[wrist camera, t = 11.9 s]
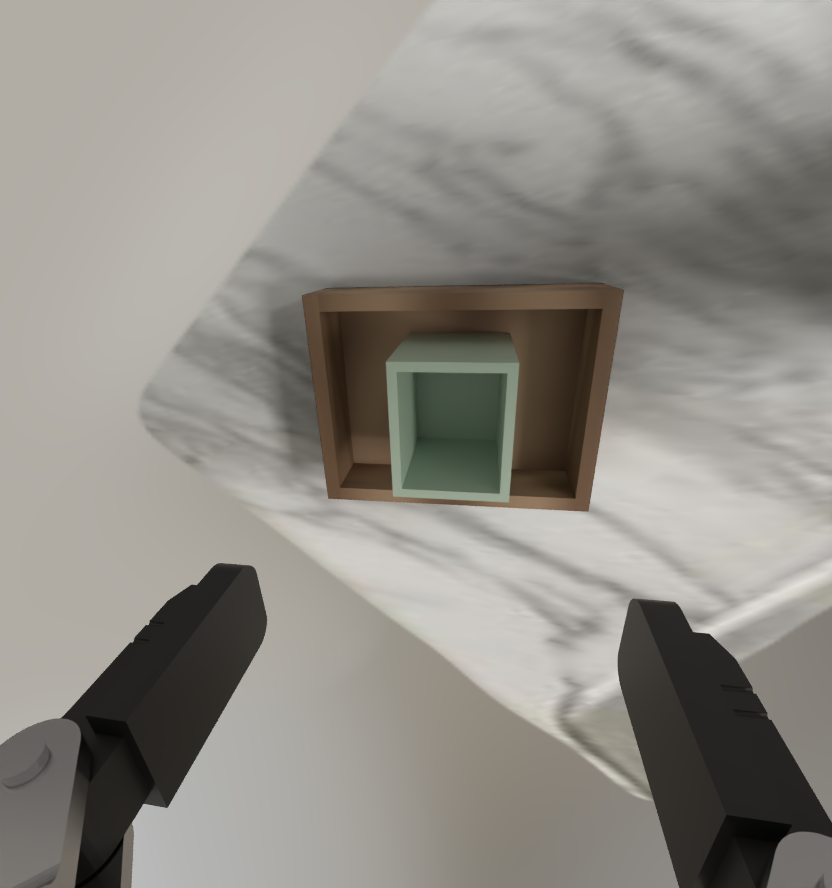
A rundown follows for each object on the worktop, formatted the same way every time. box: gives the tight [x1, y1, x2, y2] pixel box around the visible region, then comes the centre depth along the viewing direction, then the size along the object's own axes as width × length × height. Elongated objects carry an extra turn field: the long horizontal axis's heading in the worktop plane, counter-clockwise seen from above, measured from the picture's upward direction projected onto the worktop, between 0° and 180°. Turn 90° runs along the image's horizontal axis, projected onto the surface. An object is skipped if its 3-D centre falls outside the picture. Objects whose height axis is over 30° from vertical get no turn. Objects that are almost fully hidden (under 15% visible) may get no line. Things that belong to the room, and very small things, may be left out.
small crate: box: [386, 333, 519, 503], centre depth 20 cm, size 5×6×6 cm
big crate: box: [302, 283, 624, 511], centre depth 22 cm, size 13×10×4 cm
